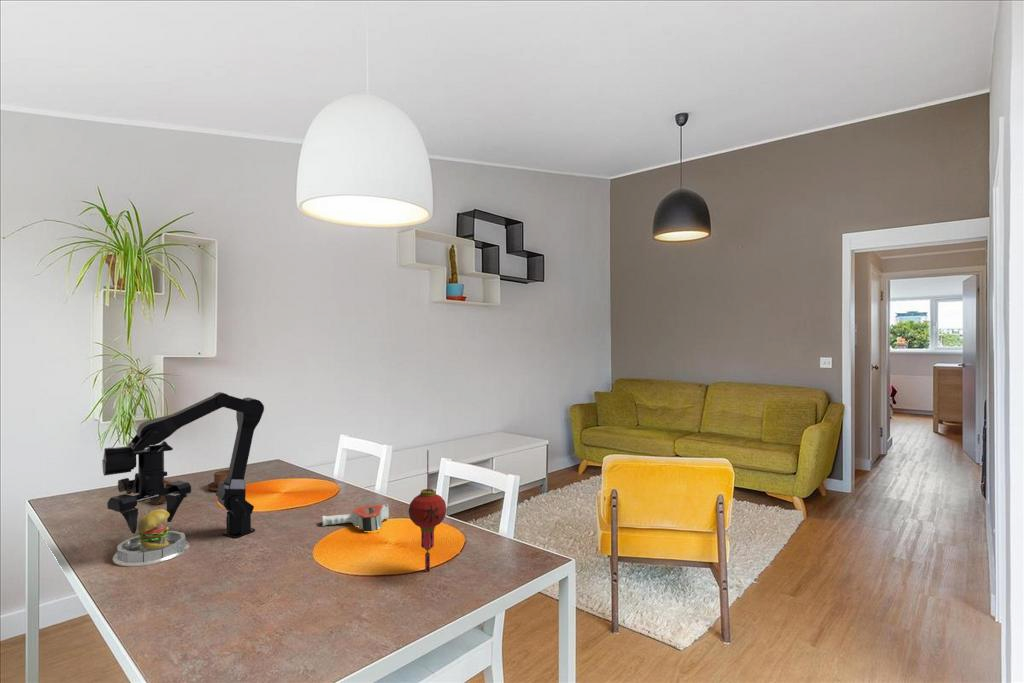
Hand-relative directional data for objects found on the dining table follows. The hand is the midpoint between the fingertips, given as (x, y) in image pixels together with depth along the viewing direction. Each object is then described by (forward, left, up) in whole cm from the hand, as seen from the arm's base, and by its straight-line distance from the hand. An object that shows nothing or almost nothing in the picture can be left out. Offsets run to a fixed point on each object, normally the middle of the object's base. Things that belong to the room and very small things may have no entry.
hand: (151, 527), depth 145 cm
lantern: (-72, -23, -7) cm, 76 cm away
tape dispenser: (-35, -41, -8) cm, 55 cm away
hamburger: (0, -1, -6) cm, 7 cm away
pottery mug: (+40, -29, -7) cm, 50 cm away
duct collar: (0, 0, -7) cm, 7 cm away
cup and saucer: (+36, -49, -7) cm, 61 cm away
